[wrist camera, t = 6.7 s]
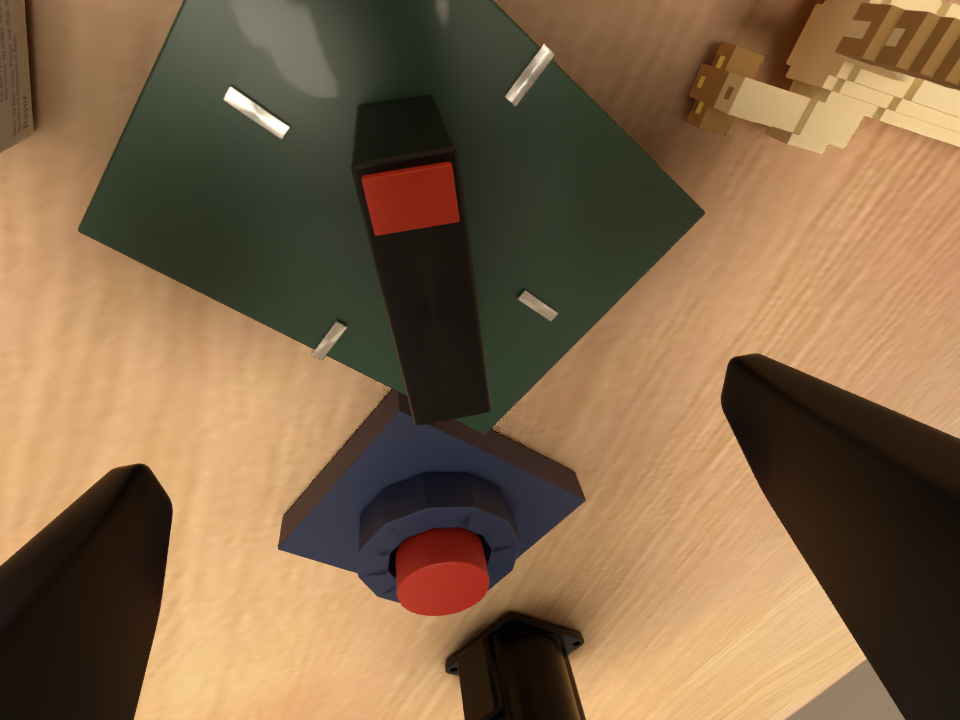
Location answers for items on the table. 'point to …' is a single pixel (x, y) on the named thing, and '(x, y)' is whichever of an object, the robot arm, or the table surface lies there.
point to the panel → (331, 188)
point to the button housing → (425, 495)
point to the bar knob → (422, 254)
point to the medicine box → (14, 75)
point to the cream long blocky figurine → (845, 76)
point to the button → (441, 571)
